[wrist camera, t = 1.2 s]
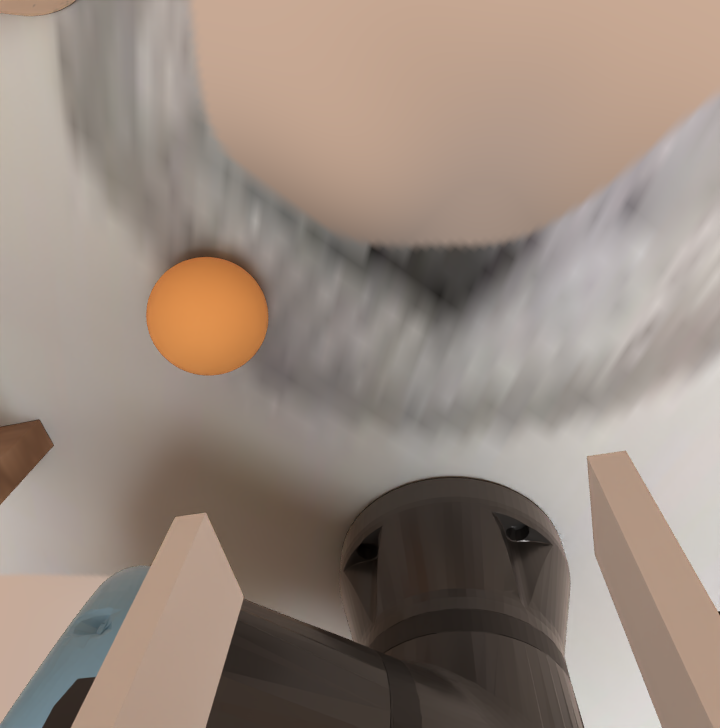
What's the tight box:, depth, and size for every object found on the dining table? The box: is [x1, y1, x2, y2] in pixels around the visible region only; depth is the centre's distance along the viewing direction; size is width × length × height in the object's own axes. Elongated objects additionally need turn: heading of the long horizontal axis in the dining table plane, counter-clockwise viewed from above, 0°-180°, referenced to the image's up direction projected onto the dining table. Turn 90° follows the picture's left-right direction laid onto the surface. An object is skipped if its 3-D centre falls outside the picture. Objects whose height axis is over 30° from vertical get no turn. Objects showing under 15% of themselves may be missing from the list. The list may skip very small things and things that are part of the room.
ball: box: [146, 257, 268, 375], centre depth 30 cm, size 6×6×6 cm
